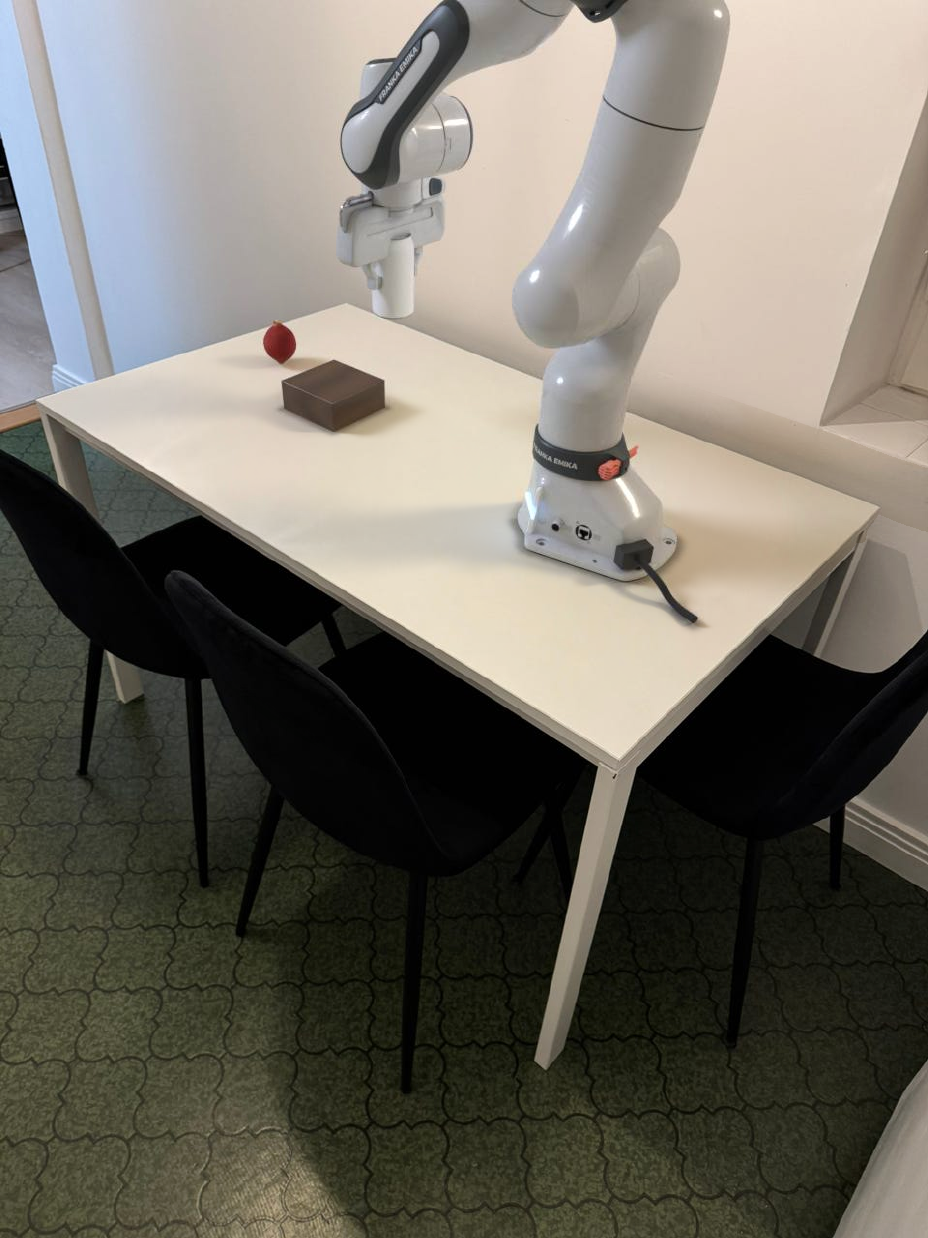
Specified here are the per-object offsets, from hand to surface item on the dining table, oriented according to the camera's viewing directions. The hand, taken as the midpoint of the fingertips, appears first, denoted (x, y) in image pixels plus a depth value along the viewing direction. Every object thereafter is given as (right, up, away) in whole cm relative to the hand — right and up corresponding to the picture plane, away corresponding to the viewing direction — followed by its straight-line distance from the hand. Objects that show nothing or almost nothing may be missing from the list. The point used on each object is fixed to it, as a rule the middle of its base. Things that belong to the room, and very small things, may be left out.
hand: (392, 282), depth 140 cm
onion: (-22, -5, +26) cm, 35 cm away
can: (0, -4, +3) cm, 5 cm away
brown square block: (-11, -17, +13) cm, 23 cm away
